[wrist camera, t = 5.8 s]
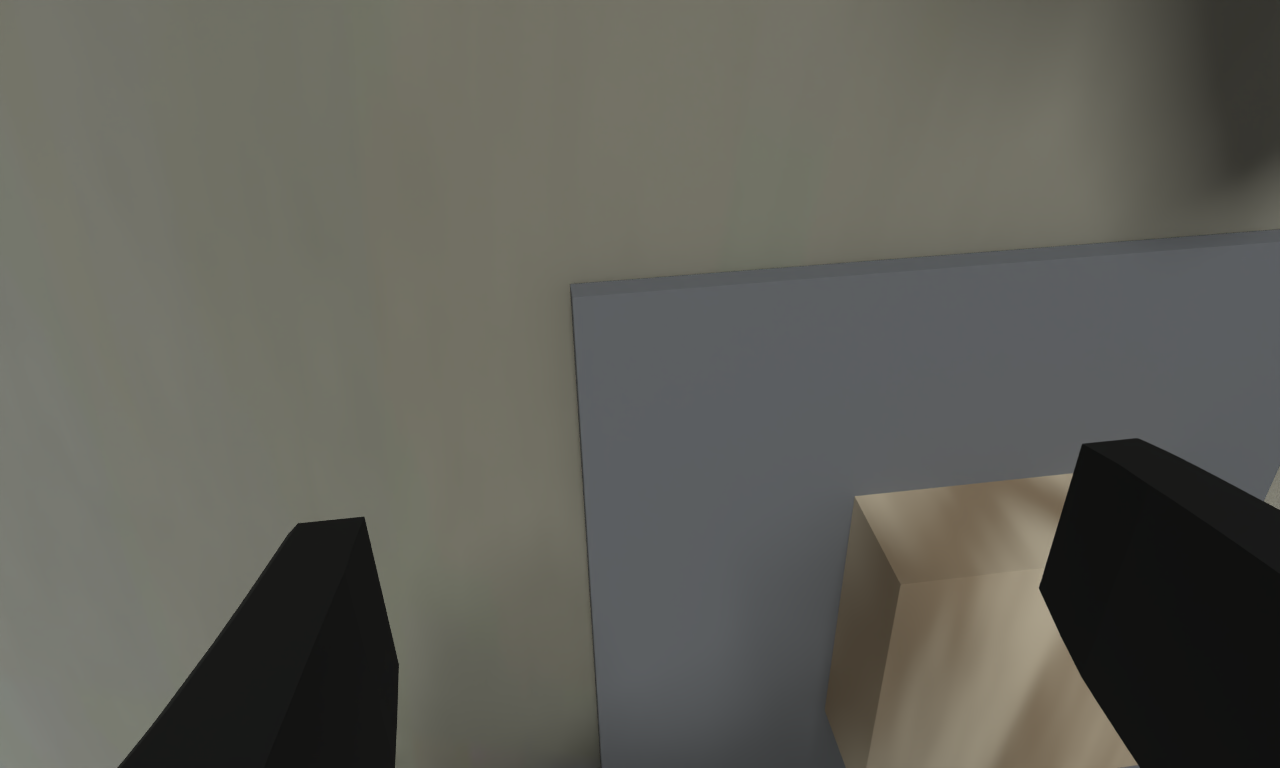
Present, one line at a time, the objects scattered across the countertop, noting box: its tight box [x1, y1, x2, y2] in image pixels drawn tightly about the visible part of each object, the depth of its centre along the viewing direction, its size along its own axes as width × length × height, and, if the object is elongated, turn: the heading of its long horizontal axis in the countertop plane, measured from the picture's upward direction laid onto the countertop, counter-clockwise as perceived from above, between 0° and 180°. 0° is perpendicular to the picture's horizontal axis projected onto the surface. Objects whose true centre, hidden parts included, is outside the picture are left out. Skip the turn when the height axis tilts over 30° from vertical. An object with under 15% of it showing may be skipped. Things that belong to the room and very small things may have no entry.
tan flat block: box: [825, 473, 1138, 768], centre depth 24 cm, size 3×8×8 cm
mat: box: [570, 229, 1280, 768], centre depth 25 cm, size 18×20×1 cm
